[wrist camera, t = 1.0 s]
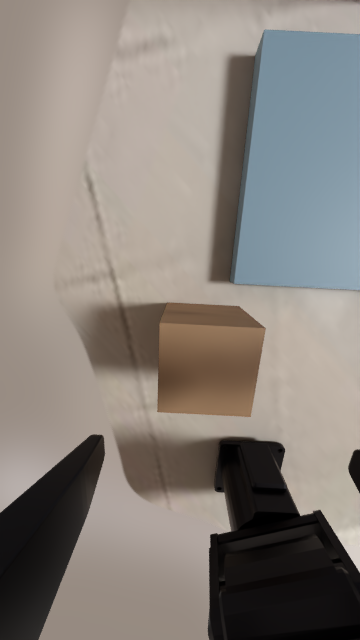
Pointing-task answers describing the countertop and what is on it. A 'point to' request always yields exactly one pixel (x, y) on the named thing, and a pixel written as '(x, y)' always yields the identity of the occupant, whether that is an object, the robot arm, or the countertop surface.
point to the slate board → (301, 164)
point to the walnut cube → (208, 359)
